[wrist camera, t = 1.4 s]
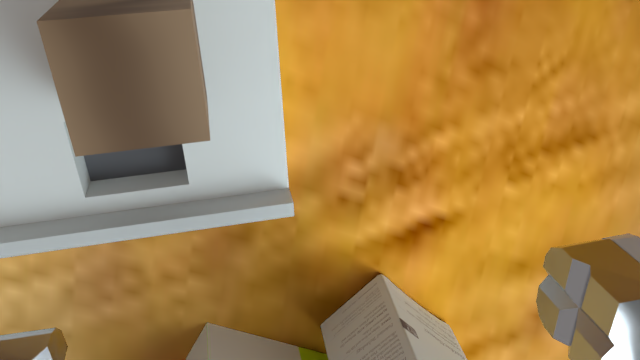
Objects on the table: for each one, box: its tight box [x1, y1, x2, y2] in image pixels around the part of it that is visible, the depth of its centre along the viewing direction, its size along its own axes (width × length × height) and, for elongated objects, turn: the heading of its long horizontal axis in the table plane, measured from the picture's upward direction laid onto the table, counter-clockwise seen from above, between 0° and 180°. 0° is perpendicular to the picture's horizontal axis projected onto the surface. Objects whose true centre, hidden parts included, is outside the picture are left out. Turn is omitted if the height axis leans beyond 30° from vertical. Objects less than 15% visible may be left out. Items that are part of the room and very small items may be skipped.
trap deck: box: [0, 0, 294, 258], centre depth 23 cm, size 23×18×4 cm
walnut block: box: [36, 0, 210, 157], centre depth 22 cm, size 5×5×5 cm
